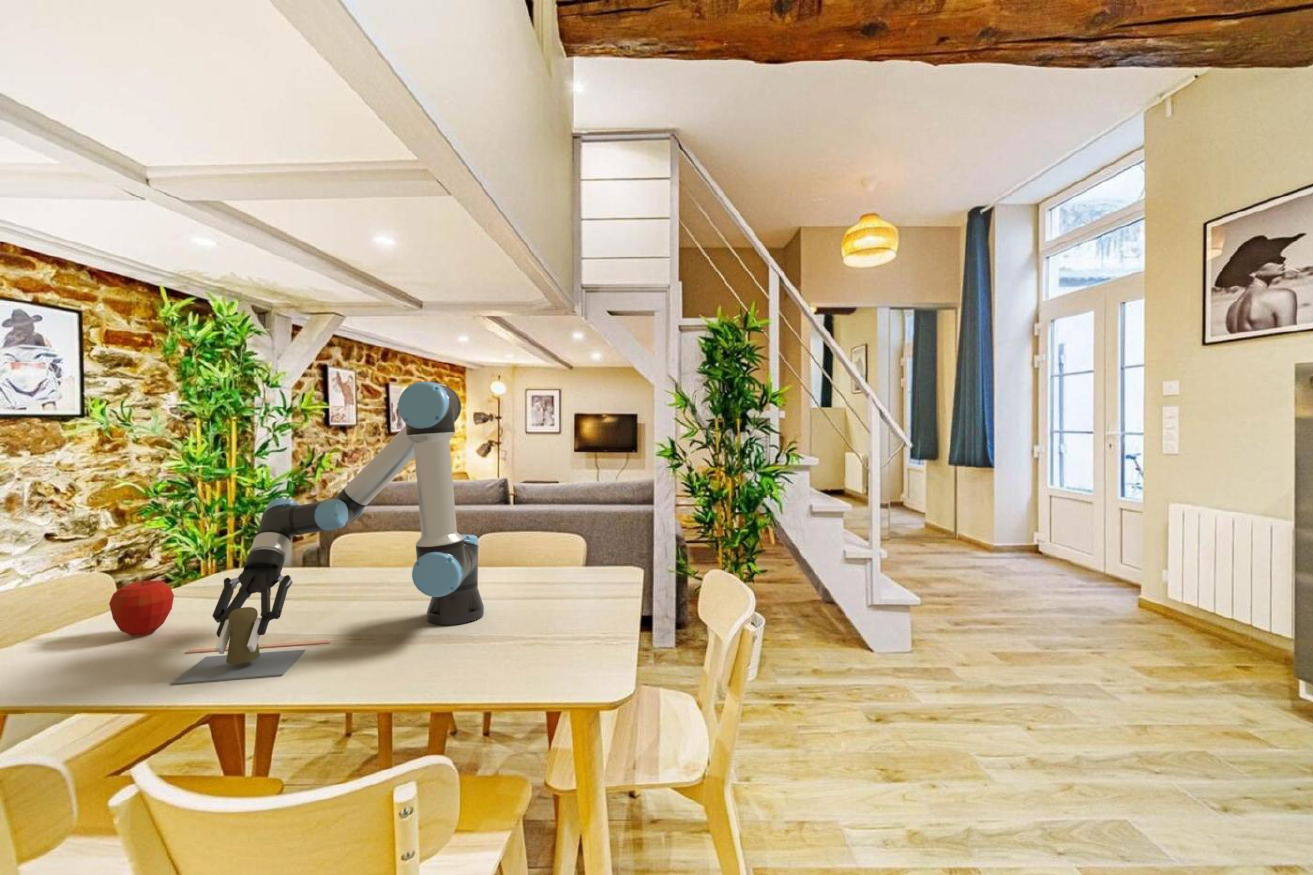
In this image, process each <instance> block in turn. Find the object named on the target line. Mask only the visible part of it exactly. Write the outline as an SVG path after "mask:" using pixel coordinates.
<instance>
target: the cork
mask: <svg viewBox="0 0 1313 875" xmlns="http://www.w3.org/2000/svg"><path fill="white" fill-rule="evenodd" d="M258 615H259V613H258V610H257V608H255V607H252V606H247V607H246V606H244V607H243V606H242V607H241V608H238V609H235V610H233V611H232V612H231V613H230V614H229V623H230V624H231V625H232V627H231V634H230V638H229V641H228V651H227V654H226V655H227V660H226V662H227V663H228V664H241V663H246V662H250V661H253V660H255V659H257V658H259V657H260V653H261V652H260V648H259V646H258V645H259V642H258V643H257V647H256V650H255V651H254V652H251V651H250V650H249V648H248V647H247V645H248V642H249V639H250V636H251V633H252V630H253V627H254V624H255V620H256V618H258Z"/></svg>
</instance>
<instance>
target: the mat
mask: <svg viewBox="0 0 1313 875" xmlns="http://www.w3.org/2000/svg"><path fill="white" fill-rule="evenodd" d="M304 652H306V649H293V650H291V649H290V650H280V651H265V652H260V657H259V658H257V659H255V660H253V661H250V662H246V663H241V664H228V663H227V662H226V660H227V654H225V655H223V654H221V655H209V656H205V657H203V658H202V659H200V661H198V662H197V663H195V664H194V665H193V666H192V667H190V668H189V669H188V670H186V671H185V672H183V673H182V674H181V675H180V676H178V677H177V678H175V679H174V680H173V681H171V682H170V686H175V685H176V686H177V685H187V684H199V683H201V684H202V683H211V682H224V681H226V682H227V681H236V680H237V681H238V680H249V679H260V678H273V677H274V678H275V677H282V676H284V675H285V673H286V672H288V670H289V669H290V668H291V667H292V666H293V665H294V664H295V663H296V662H297V661H298V659H299V658H301V656H302V655H303V654H304Z"/></svg>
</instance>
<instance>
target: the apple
mask: <svg viewBox="0 0 1313 875" xmlns="http://www.w3.org/2000/svg"><path fill="white" fill-rule="evenodd" d="M174 597H175V595H174V592H173V590H172V588H171V586H170V585H169V584H168V583H166V581H163V580H145V578H142V580H140V581H135V582H134V581H133V582H131V583H128V584H126V585H123V586H121V587H120V588H119V589H118V590H116V591H115V592H113V594H112V596H111V598H110V600H109V603H108V605H109V608H110V612H111V616H112V620H113V621H114V624H116V627H117V628H118V630H119V631H120V632H122V633H124V634H127V635H129V636H132V637H141V636H148V635H151V634H153V633H155V632H156V631H157V630H158V629H159V628H161V627H162V625H164V623H165V622H166V620H167V618H168V616H169V615H170V613H171V611H172V610H173V604H174Z"/></svg>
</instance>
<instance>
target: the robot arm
mask: <svg viewBox="0 0 1313 875" xmlns="http://www.w3.org/2000/svg"><path fill="white" fill-rule="evenodd" d="M397 410H398V413H399V416H400V418H401V419H402V421H403V422H404V423H405V425H404V426H403V427H402V429H400V430H399V431H398V433H396V434H395V435H394V436H393V438H392V439H391V440H390V441H389V442H388V443H386V445H385V446H384V447H382V448H381V450H380V451H379V452H378V453H377V454H376V455H375V456H374V457H373V458H371V460H370V461H368V463H367V464H366V465H365V466H364V467H363V468H362V469H361V470H360V471H359V472H358V473H357V474H356V475H355V476H354V477H353V478H352V479H351V480H350V481H349V483H347V485H345V487H343V489H341V490H340V491H339V493H337V494H336V496H335V497H333V498H329V499H324V500H320V501H317V502H309V503H305V504H299V503H298V502H297V501H296V500H294V499H291V498H286V499H285V498H284V497H279V498H278V497H277V498H274V499H273V500H271V501H269V503H268V504H267V506H266V508H265V509H264V511H263V512H262V515H261V520H260V523H259V526H258V529H257V532H256V534H255V537H254V539H253V542H252V545H251V546H250V549H249V553H248V555H247V558H246V559H245V560H246V561H245V563H244V566H243V570H242V572H241V573H240V574H239V575H238V577H234V578H230V577H226V578H224V579H223V588H222V591H221V593H220V596H219V598H218V601H217V603H216V606H215V608H214V611H213V613H212V615H211V616H212V618H213V619H214V621H215V622H216V623H217V624H219V625H218V627H217V631H216V636H217V637H218V640H217V642H216V646H215V647H214V648H215V649H216V650H217V651H216V652H218V654H219V655H223V654H225V652H226V651H225V649H226V647H227V646H228V644H229V640H230V634H231V627H232V625H231V624H230V623H229V614H230V613H231V612H232V611H233V610H235V609H238V608H243V605H244V604H245V602H246V601H247V599H249V598H250V597H251V595H252V594H256V593H260V617H257V618H256V620H255V624H254V627H253V630H252V633H251V636H250V639H249V642H248V645H247V647H248V648H249V650H250V651H251V652H254V651H255V650H256V647H257V643H258V644H259V640H260V637H261V636H264V635H265V634H266V631H267V629H268V626H269V623H270V621H272V620H278V619H280V618H281V616H282V611H283V608H284V604H285V601H286V597H287V592H288V590H289V589H290V587H291V585H293V580H292V577H291V576H290V575H289V574H286V575H282V574H281V572H282V570H283V567H284V564H285V559H286V558H287V555H288V552H289V547H290V544H291V541H292V538H293V537H295V536H300V535H305V534H306V535H307V534H313V533H319V532H320V533H321V532H331V531H333V530H337V529H342V528H344V527H345V526H346V524H349V523H352V522H354V521H356V520H357V519H359V518H360V517H361V516H362V515H363V513H364V509H365V508H366V507H367V505H368V504H369V503H370V502H372V500H373V499H374V498H376V496H377V495H378V494H380V492H382V490H383V489H384V488H385V487H386V486H387V485H388V484H389V483H390V482H391V481H393V479H394V478H395V477H396V476H397V475H398V474H399V473H400V472H401V471H403V469H404V468H405V467H406V466H407V465H408V464H409V463H410V462H411V461H412V460H413V459H414V462H415V463H414V464H415V472H416V473H415V474H416V476H415V477H416V484H417V485H416V486H417V496H418V497H417V498H418V500H417V501H418V508H419V509H418V510H419V523H420V534H421V536H420V538H419V539H418V540H417V542H416V543H415V552H416V553H415V554H416V555H415V556H416V561H415V562H414V564H413V568H412V570H411V579H412V583H413V584H414V586H415V588H416V589H417V590H418V591H419V592H421V594H423V595H425V596H428V597H431V599H430V601H429V605H428V607H427V610H426V620H427V622H428V623H430V624H435V625H440V626H454V625H462V623H463V624H467V623H466V622H468V623H471V622H470V621H472V622H474V621H473V620H475V619H477V620H480V619H481V618H482V617H483V616H484V615H485V607H484V606H485V605H484V603H483V599H482V597H481V593H480V591H479V585H478V581H479V580H478V579H479V578H478V577H479V575H478V574H479V547H480V545H479V539H478V536H477V535H474V534H460V533H459V532H458V529H457V528H458V527H457V515H456V503H455V492H454V491H455V490H454V481H453V480H454V479H453V467H452V455H451V453H452V452H451V442H450V441H451V439H452V437H454V435H456V428H455V423H456V422H457V420H458V419H459V417H460V416H461V412H462V402H461V399H460V397H459V395H458V394H457V392H456V391H455V390H454V389H452V388H451V387H449V386H446V385H443V384H439V383H437V382H434V381H418V382H414V383H411V384H410V385H408V386H407V387H406V388H405V389H404V390H403V391H402V392H401V394H400V396H399V398H398V402H397ZM238 584H240V587H239V588H238V592H237V594H236V595H235V596H234V598H233V600H232V601H231V599H232V597H233V594H234V591H235V589H237V587H238ZM276 584H278V588H277V591H276V594H275V598H274V601H273V605H272V608H271V594H272V590H271V588H273V587H274V586H275V585H276ZM483 614H484V615H483ZM479 618H480V619H479ZM475 621H476V620H475Z"/></svg>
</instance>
